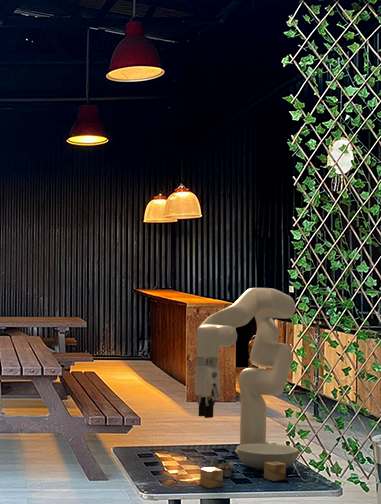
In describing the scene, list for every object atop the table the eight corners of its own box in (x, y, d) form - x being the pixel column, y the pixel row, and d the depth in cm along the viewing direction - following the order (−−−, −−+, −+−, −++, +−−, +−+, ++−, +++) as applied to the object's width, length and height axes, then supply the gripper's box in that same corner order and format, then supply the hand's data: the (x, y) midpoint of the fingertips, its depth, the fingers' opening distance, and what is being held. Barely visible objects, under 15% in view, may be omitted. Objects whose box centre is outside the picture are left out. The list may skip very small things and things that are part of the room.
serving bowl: (307, 467, 292) (307, 447, 292) (282, 477, 274) (282, 456, 274) (253, 460, 302) (253, 440, 302) (225, 469, 284) (225, 448, 284)
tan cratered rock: (210, 470, 283) (210, 457, 283) (233, 471, 282) (233, 458, 283) (208, 476, 272) (208, 463, 273) (231, 477, 272) (232, 464, 272)
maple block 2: (276, 476, 276) (276, 460, 276) (285, 479, 271) (285, 463, 272) (263, 477, 273) (264, 462, 273) (272, 481, 269) (273, 465, 269)
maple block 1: (213, 483, 264) (214, 466, 264) (222, 486, 259) (222, 470, 259) (200, 484, 261) (200, 468, 261) (208, 488, 257) (208, 471, 257)
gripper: (229, 364, 283) (228, 419, 282) (204, 360, 297) (202, 413, 296) (210, 364, 279) (209, 421, 278) (185, 360, 293) (184, 414, 292)
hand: (205, 416), depth 287 cm, fingers open, 3 cm apart
